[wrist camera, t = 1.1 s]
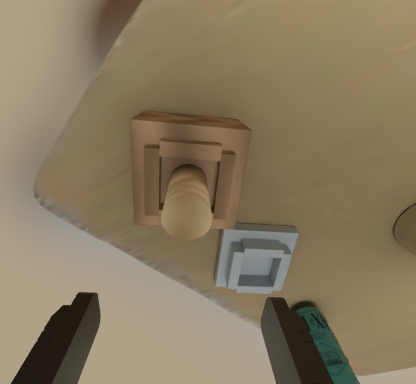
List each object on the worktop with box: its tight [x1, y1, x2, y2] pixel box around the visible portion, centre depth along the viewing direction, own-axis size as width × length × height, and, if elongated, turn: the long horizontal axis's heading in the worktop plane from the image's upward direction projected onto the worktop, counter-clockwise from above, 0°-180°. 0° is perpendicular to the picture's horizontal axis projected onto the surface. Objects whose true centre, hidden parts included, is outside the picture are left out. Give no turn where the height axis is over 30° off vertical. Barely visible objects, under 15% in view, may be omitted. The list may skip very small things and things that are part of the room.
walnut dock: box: [130, 111, 252, 230], centre depth 28 cm, size 12×12×10 cm
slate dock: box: [214, 223, 299, 294], centre depth 38 cm, size 12×12×4 cm
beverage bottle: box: [297, 307, 360, 384], centre depth 38 cm, size 6×7×20 cm
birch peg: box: [161, 164, 212, 241], centre depth 22 cm, size 4×4×8 cm
